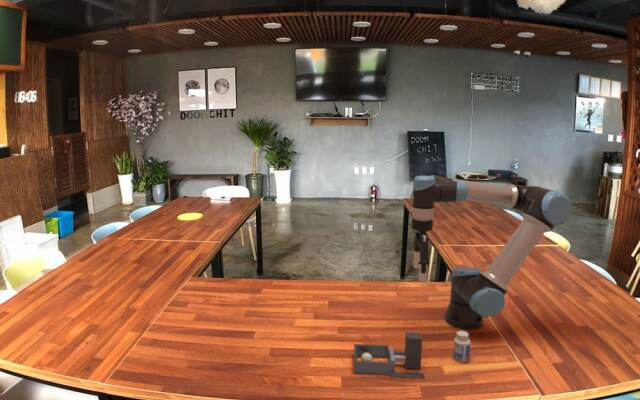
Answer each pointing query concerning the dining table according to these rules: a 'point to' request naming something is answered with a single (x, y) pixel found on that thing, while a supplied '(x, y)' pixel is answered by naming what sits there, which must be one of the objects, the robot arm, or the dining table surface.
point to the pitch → (378, 367)
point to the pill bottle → (462, 347)
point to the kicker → (408, 352)
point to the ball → (366, 357)
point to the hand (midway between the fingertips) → (419, 274)
